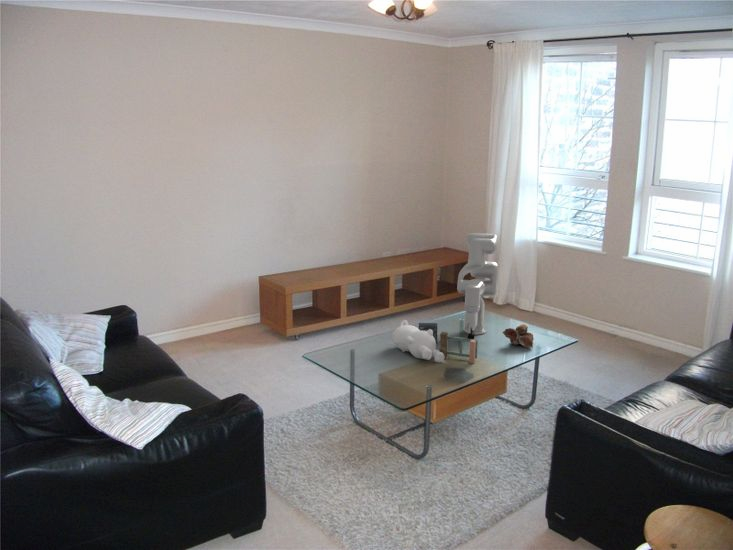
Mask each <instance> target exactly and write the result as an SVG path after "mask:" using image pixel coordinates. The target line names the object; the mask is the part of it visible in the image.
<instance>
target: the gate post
mask: <svg viewBox="0 0 733 550" xmlns="http://www.w3.org/2000/svg"><path fill="white" fill-rule="evenodd" d="M439 335H440V336H439V338H440V339H439V340H440V341H439V351H440V352H442V353H443V354H444V360H446V359H447V358H448V354H447V351H448V344H447V341H448V340H449V339H448V336H449V333H448V332H447V331H441V333H440V334H439Z"/></svg>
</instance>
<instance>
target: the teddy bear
mask: <svg viewBox="0 0 733 550" xmlns="http://www.w3.org/2000/svg"><path fill="white" fill-rule="evenodd" d="M391 342H392V344H393V345H395V346H396V347H397V348H398V349H399V350H401V351H402V352H403V353H404V352H410V353H411V355H412V356H414V358H417V359H420V360H421V359H423V360H428V361H429V360H431V358H432V357H433V358H434V362H435V363H439V364H442V363H443V362H444V361H445V359H444V354H443V353H442V352H440V349H436V347H437V344H436V341H435V338H434V337H433V331H432V330H431V329H429V330H428V331H420V330H419V327H417V326H414V325H411V324H409V323H408V320H406V319H402V320H401V321H400V325H399V326H398V327H397V328H396V329H395V330H394V331H393V333H392V335H391Z"/></svg>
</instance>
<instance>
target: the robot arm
mask: <svg viewBox="0 0 733 550" xmlns="http://www.w3.org/2000/svg"><path fill="white" fill-rule="evenodd" d="M465 238H466V244H467V246H468V258H467V263H466V264H465V265H464V266H463V267H462V268H461V270H460V271H459V273H458V276H457V284H456V285H457V288H456V289H457V292H458V293H459V294H462V295H465V296H464V298H465V299H464V311H465V316H464V317H465V318H464V333H466V334H467V338H469V339H475V335H476V336H477V335H484V334H486V332H487V329H486V328H485V327H484V324H485V323H484V322H485V301H484V299H483V297H493V298H494V297H496V296H497V295H498V290H499V275H500V274H499V273H500V272H499V264H498V263H497V262H495V261H488V260H487V261H486V258H487V255H495V254H496V253H497V249H498V243H499V238H498V236H497V234H496V233H482V232H472V233H471V232H469V233H467V234H466V237H465ZM469 274H470V275H471V277H473V279H464V277H465V276H467V275H469ZM474 278H475V279H474ZM478 278H480V279H478Z"/></svg>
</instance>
